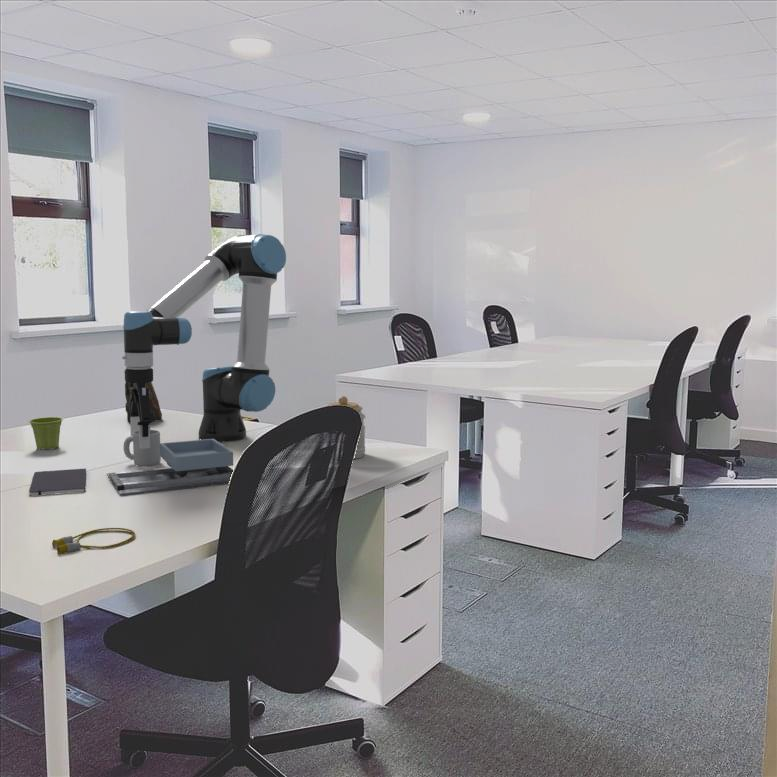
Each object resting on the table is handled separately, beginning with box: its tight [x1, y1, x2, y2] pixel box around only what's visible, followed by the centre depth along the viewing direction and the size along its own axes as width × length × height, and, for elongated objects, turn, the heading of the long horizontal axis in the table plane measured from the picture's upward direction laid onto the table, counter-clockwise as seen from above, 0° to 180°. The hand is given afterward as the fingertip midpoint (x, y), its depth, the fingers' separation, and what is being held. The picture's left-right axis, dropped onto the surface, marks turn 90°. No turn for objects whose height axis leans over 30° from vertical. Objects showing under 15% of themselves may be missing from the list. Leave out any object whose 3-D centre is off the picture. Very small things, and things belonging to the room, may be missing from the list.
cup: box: [123, 429, 162, 467], centre depth 233 cm, size 7×10×9 cm
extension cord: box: [51, 527, 136, 555], centre depth 167 cm, size 12×16×2 cm
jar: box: [326, 395, 366, 460], centre depth 244 cm, size 13×13×18 cm
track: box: [106, 466, 234, 497], centre depth 216 cm, size 30×22×2 cm
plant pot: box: [28, 416, 64, 451], centre depth 252 cm, size 9×9×9 cm
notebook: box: [28, 468, 87, 496], centre depth 212 cm, size 13×2×21 cm
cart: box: [160, 439, 234, 477], centre depth 219 cm, size 15×19×6 cm
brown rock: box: [123, 366, 163, 423], centre depth 300 cm, size 13×13×20 cm
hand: (140, 443), depth 232 cm, fingers open, 13 cm apart
